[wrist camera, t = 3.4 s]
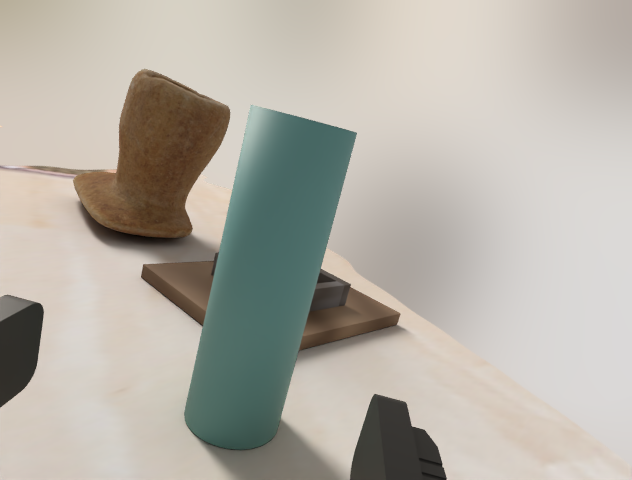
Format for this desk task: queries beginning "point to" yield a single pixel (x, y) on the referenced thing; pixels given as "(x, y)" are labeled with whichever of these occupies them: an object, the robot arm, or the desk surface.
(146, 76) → the brown hollow flared cylinder
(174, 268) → the walnut base board
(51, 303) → the desk surface
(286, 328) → the teal pillar
